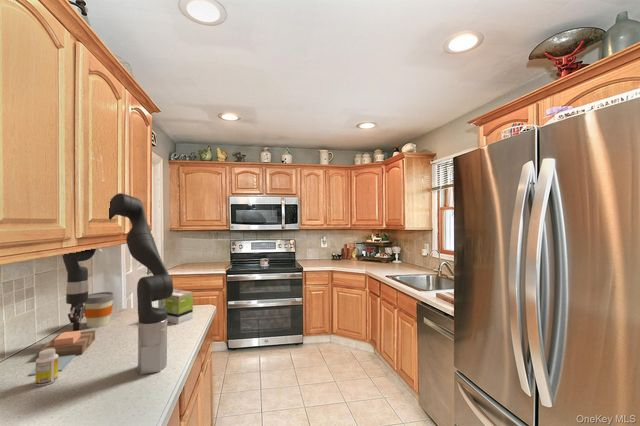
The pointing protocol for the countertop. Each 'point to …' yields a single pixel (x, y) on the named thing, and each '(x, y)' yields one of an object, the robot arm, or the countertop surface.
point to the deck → (72, 345)
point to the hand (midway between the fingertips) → (76, 331)
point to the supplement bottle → (46, 367)
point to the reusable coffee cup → (98, 309)
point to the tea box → (178, 306)
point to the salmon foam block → (67, 338)
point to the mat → (59, 363)
